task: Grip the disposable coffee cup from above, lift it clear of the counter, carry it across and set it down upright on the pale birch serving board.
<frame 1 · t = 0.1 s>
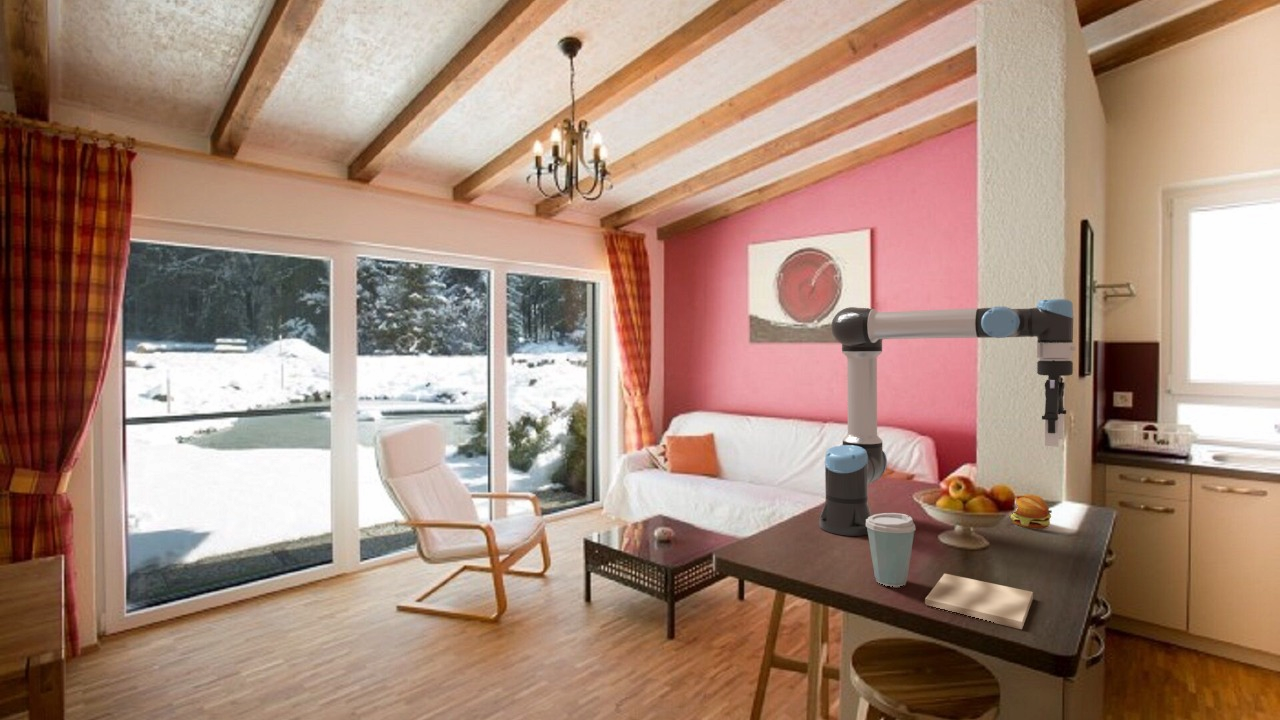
hand: (1054, 442, 155), 28 cm above the counter, fingers open, 13 cm apart
disposable coffee cup: (889, 582, 137), on the counter
cheeseburger: (1030, 526, 177), on the counter
birch board: (979, 602, 126), on the counter
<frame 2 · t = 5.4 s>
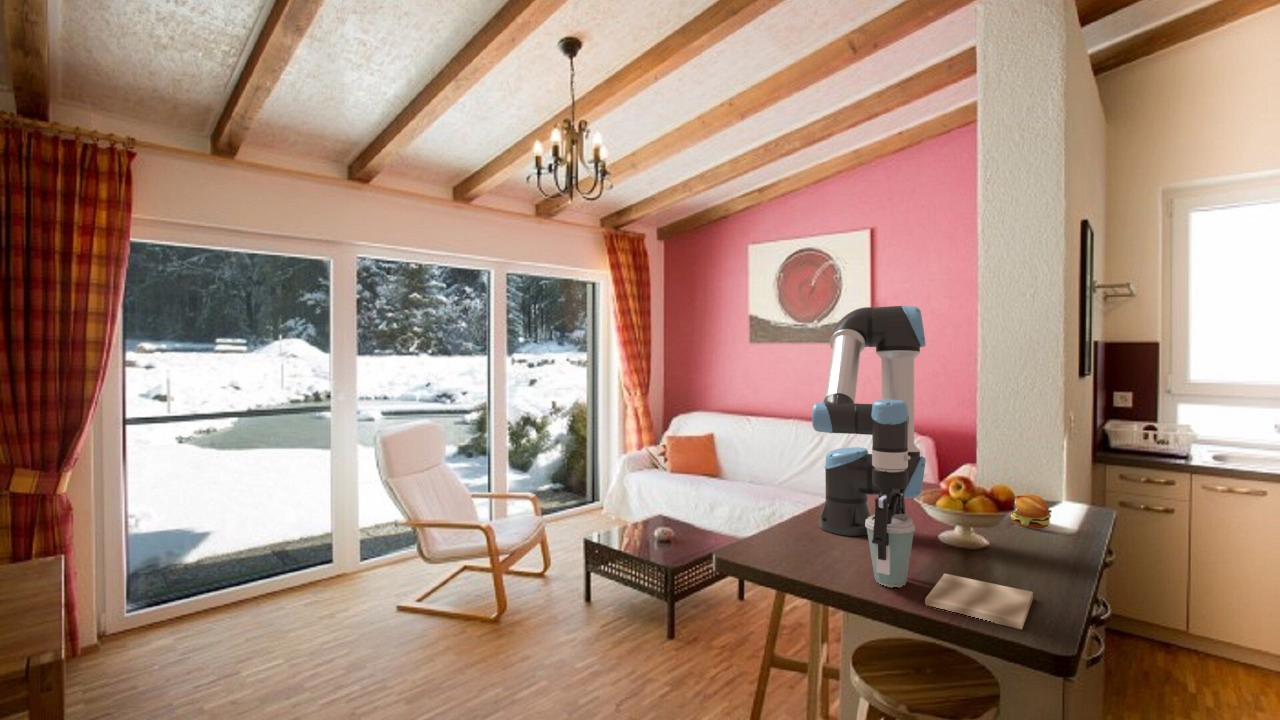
hand: (890, 566, 137), 4 cm above the counter, fingers open, 10 cm apart
disposable coffee cup: (889, 583, 137), on the counter, touching gripper
everything else where it was.
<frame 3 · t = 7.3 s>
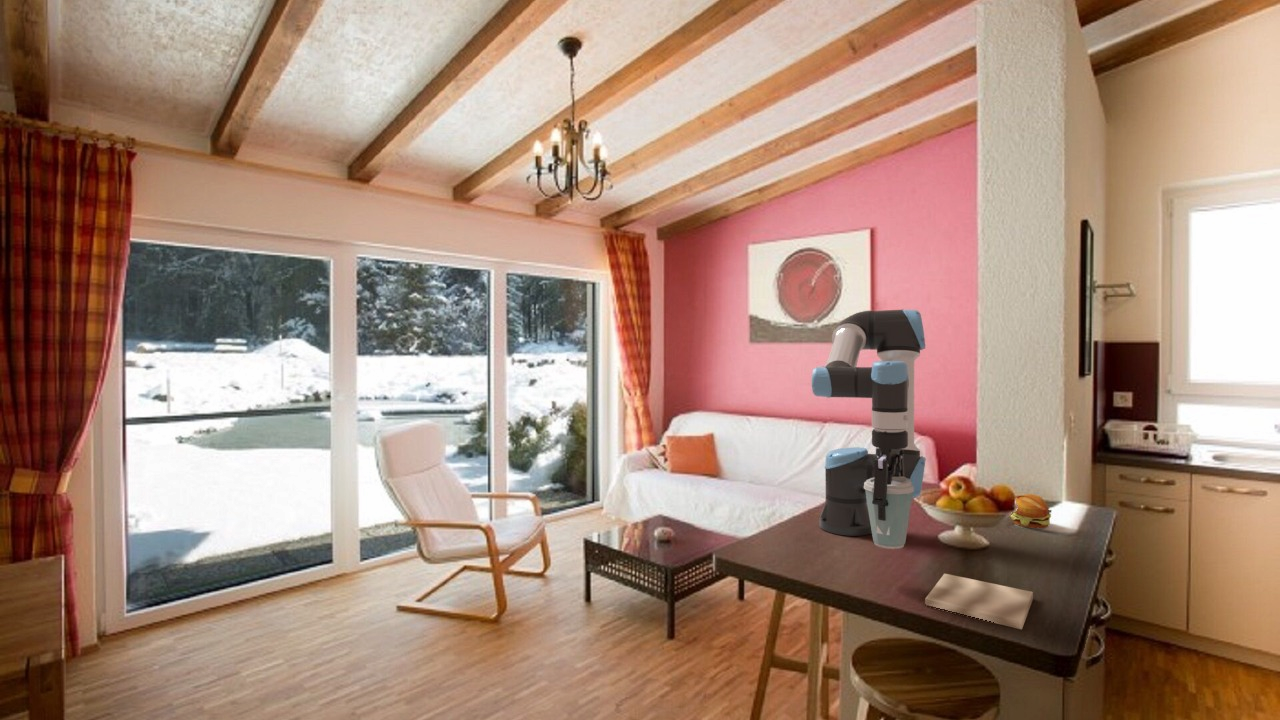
hand: (889, 528, 137), 12 cm above the counter
disposable coffee cup: (888, 545, 137), point 9 cm above the counter, touching gripper, hand
everything else where it was.
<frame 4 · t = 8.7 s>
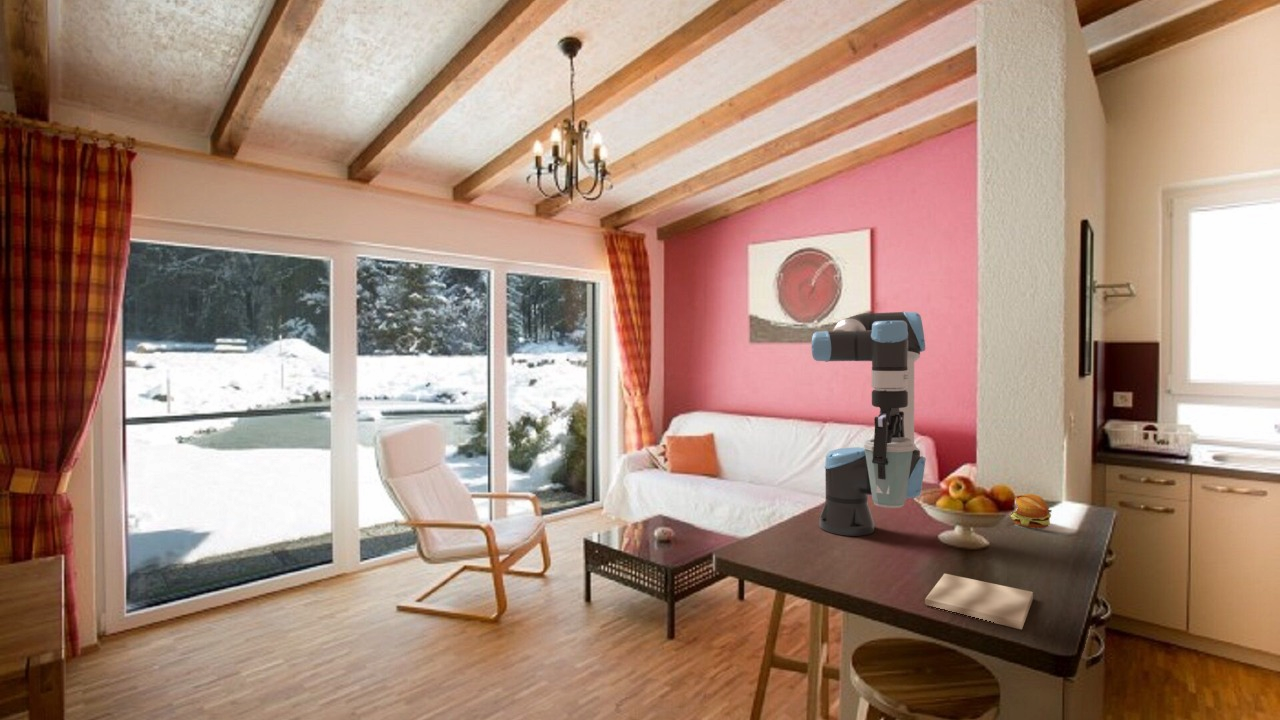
hand: (889, 488, 137), 21 cm above the counter
disposable coffee cup: (888, 505, 136), point 18 cm above the counter, touching gripper, hand
everything else where it was.
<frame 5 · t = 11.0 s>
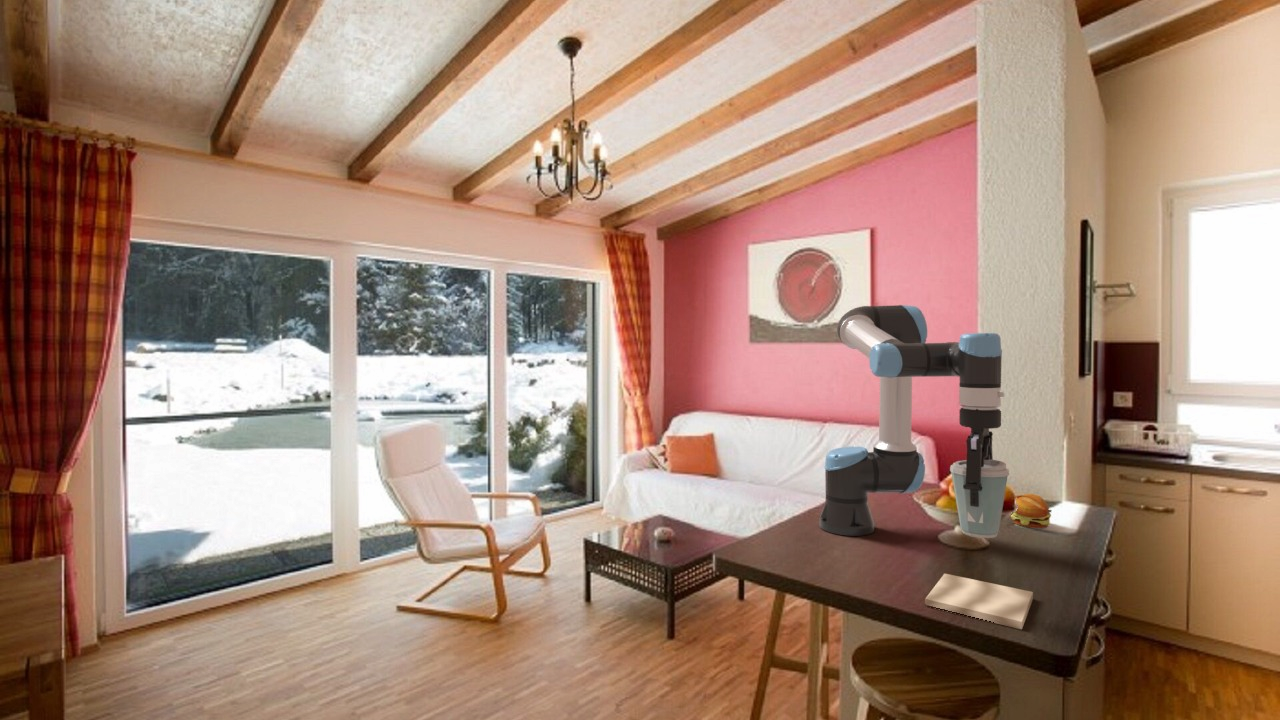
hand: (979, 516, 125), 18 cm above the counter
disposable coffee cup: (978, 534, 125), point 15 cm above the counter, touching gripper, hand
everything else where it was.
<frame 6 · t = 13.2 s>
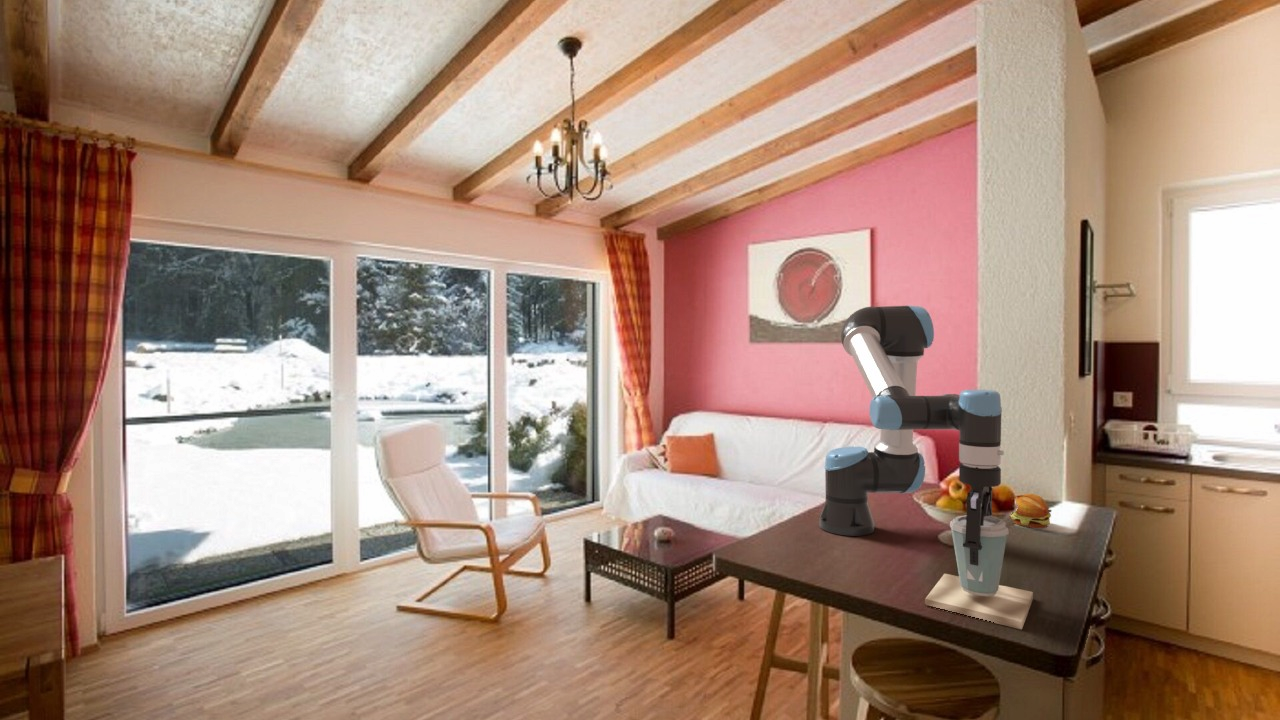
hand: (979, 572, 126), 6 cm above the counter
disposable coffee cup: (978, 591, 125), point 3 cm above the counter, touching gripper, hand
everything else where it was.
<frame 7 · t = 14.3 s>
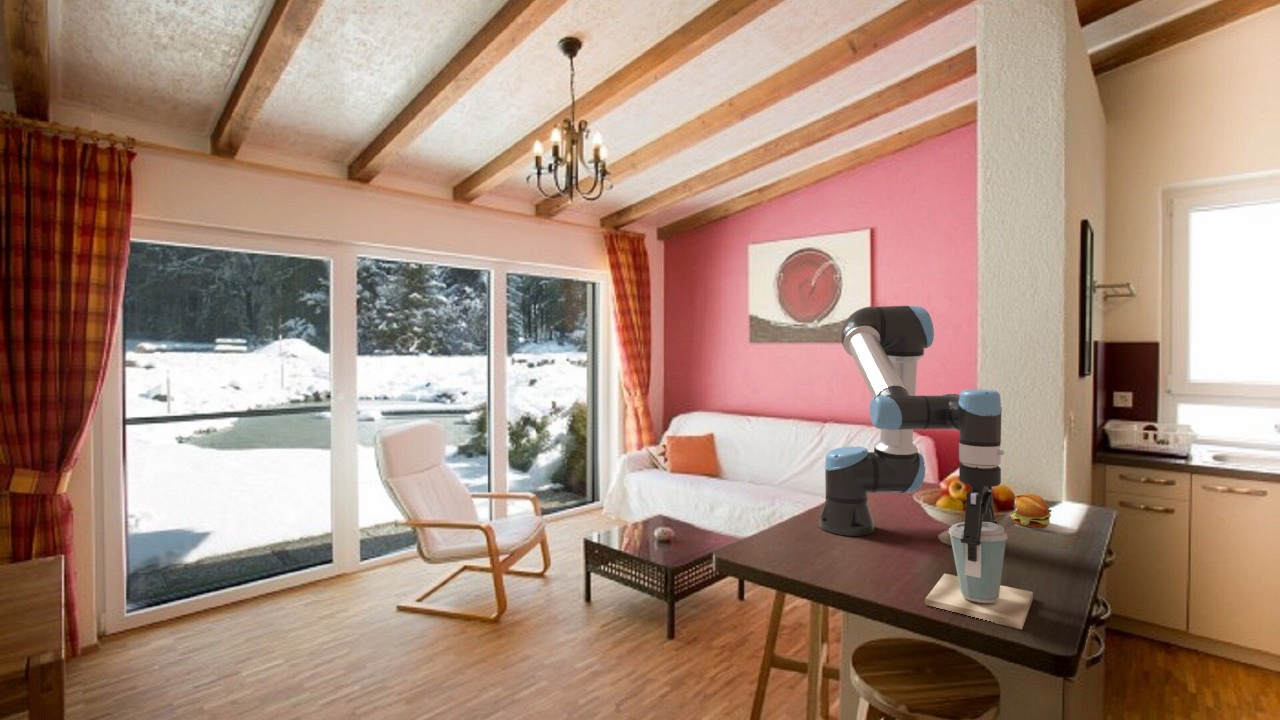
hand: (979, 565, 126), 8 cm above the counter, fingers open, 13 cm apart
disposable coffee cup: (978, 598, 124), point 1 cm above the counter, touching birch board, gripper
everything else where it was.
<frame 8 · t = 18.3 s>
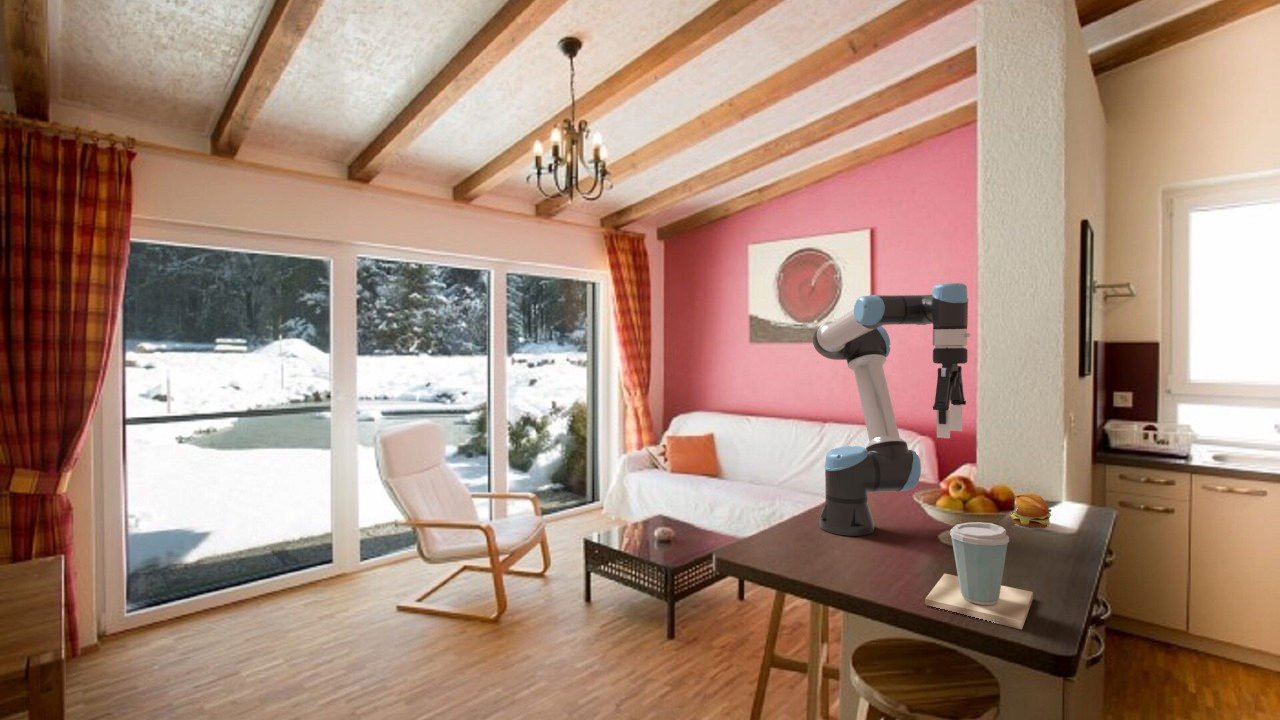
hand: (949, 434, 148), 32 cm above the counter, fingers open, 13 cm apart
disposable coffee cup: (978, 599, 124), point 1 cm above the counter, touching birch board
at the end: disposable coffee cup inside the target area on the birch board (2.0 cm from its centre), point 1.3 cm above the birch board's base; disposable coffee cup tilted 0°; the gripper is holding nothing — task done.
